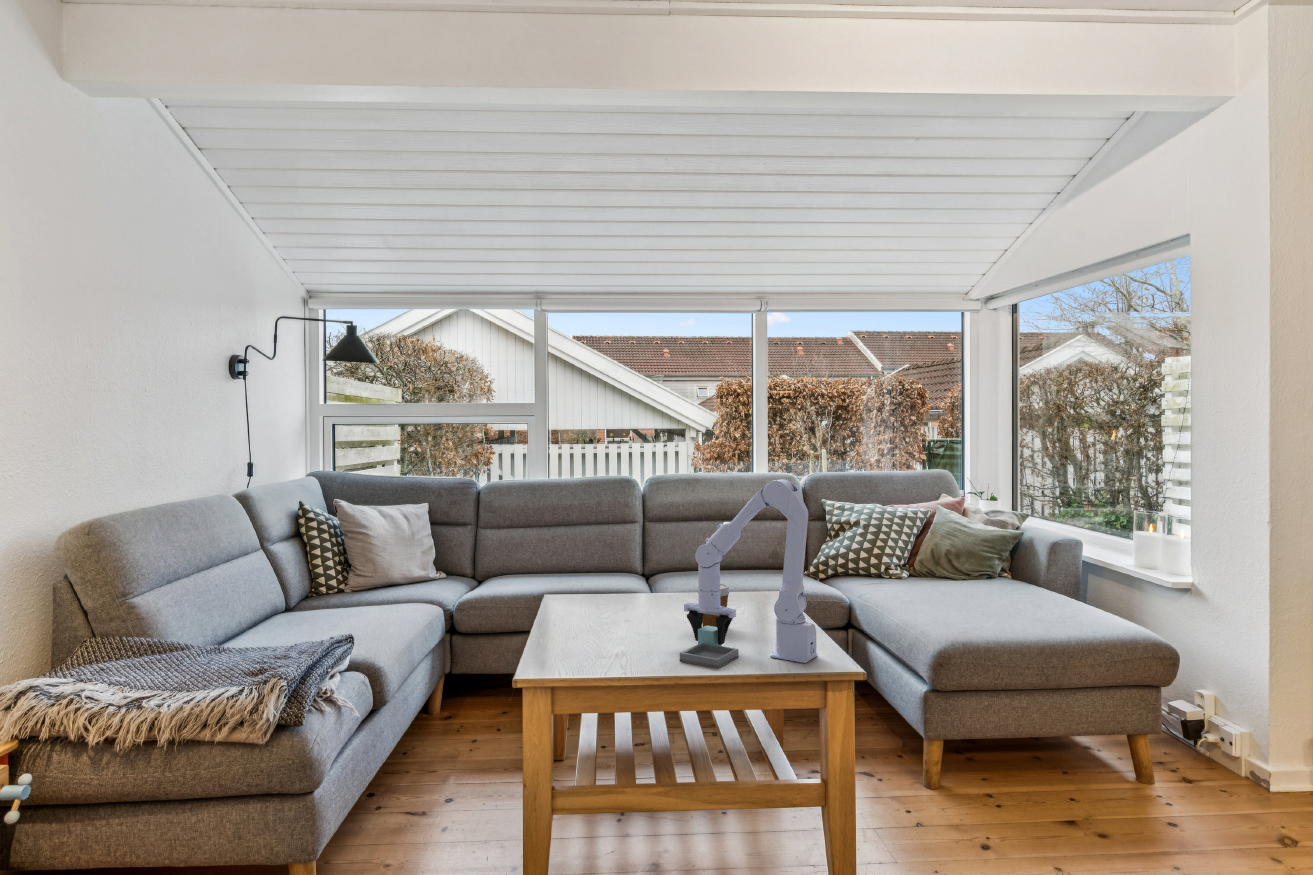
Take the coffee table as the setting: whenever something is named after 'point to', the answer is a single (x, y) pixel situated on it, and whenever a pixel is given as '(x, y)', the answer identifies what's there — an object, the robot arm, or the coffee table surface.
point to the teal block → (708, 635)
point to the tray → (709, 655)
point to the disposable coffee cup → (724, 591)
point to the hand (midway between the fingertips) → (709, 641)
